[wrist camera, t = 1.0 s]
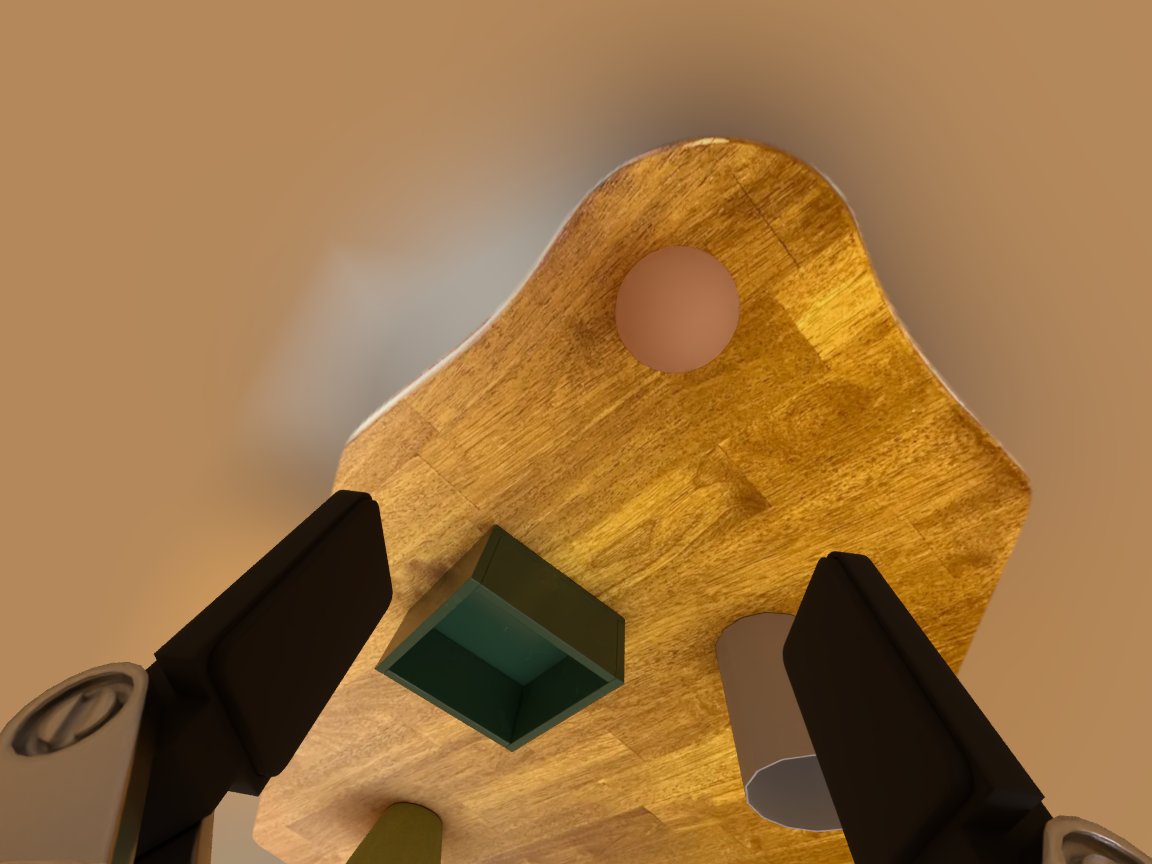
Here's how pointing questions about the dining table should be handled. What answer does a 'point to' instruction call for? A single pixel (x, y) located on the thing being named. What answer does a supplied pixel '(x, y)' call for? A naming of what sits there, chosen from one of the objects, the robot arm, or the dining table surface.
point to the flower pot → (402, 838)
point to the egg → (677, 309)
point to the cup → (771, 727)
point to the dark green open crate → (507, 644)
